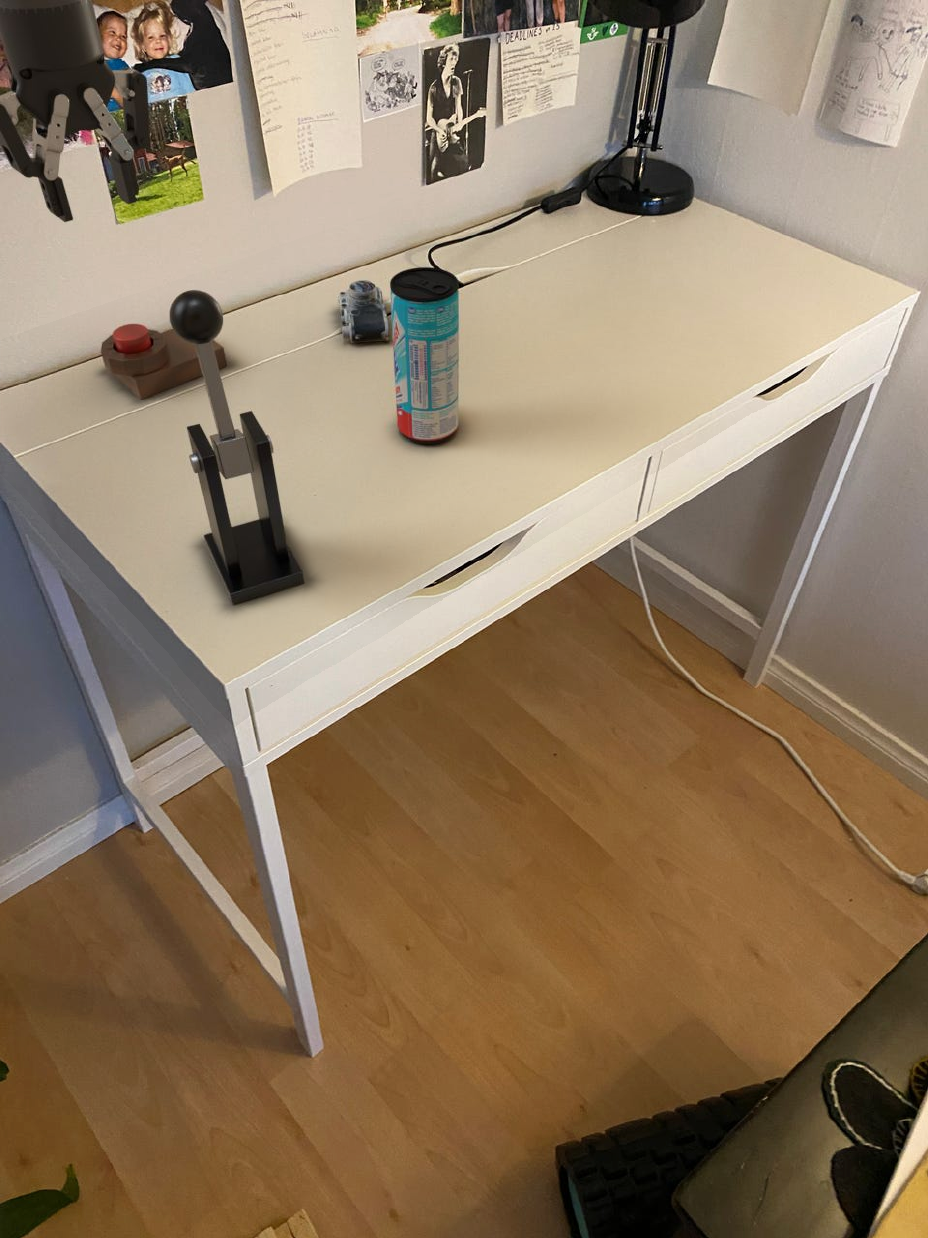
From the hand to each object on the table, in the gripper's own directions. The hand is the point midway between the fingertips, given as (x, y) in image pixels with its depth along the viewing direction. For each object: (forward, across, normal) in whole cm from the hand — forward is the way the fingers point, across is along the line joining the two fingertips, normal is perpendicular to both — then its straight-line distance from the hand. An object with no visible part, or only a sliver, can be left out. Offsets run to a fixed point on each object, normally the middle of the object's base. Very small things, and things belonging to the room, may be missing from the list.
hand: (97, 208), depth 87 cm
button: (+14, 0, 0) cm, 14 cm away
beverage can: (+18, +17, -26) cm, 36 cm away
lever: (+2, -6, -29) cm, 30 cm away
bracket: (+17, -7, -32) cm, 37 cm away
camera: (+18, +24, -6) cm, 31 cm away
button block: (+17, +3, 0) cm, 18 cm away
